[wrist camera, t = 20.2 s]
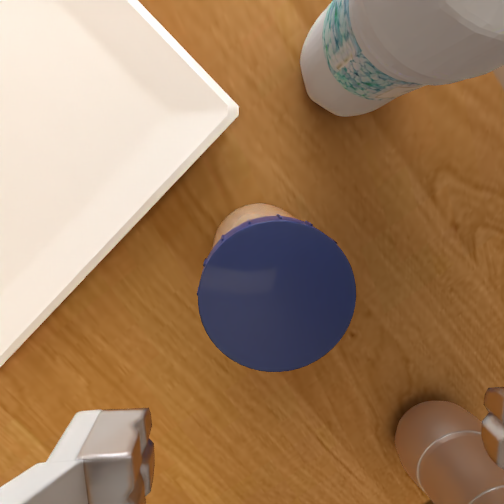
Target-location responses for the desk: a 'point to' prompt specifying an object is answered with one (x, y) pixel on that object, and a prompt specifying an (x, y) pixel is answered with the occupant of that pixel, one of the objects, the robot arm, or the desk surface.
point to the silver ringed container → (448, 455)
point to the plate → (87, 141)
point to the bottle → (397, 49)
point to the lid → (276, 294)
